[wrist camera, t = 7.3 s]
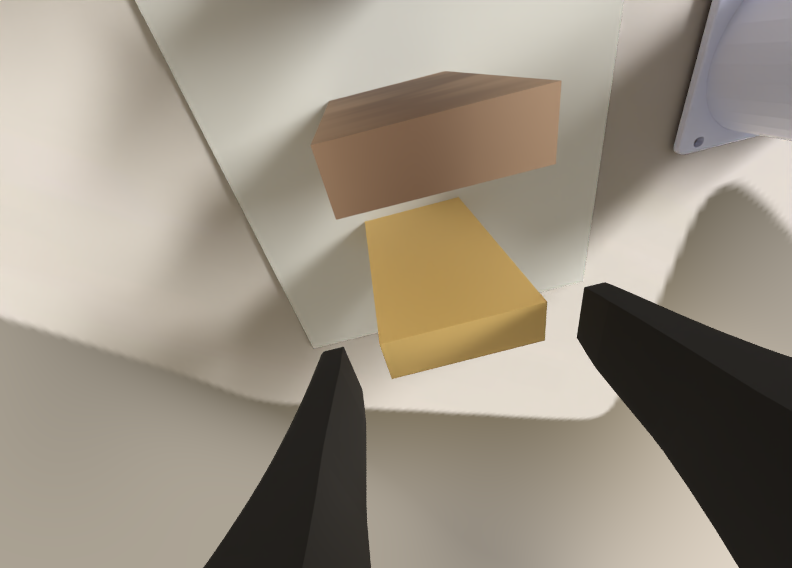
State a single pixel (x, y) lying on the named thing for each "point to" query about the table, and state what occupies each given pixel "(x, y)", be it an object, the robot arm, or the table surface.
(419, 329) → the domino
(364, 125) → the domino
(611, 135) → the table surface
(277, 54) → the mat
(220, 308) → the table surface
